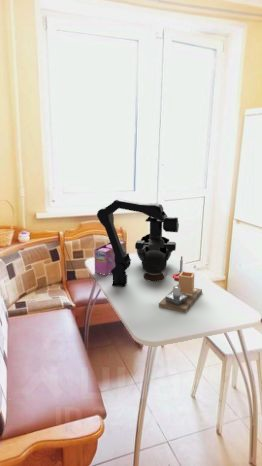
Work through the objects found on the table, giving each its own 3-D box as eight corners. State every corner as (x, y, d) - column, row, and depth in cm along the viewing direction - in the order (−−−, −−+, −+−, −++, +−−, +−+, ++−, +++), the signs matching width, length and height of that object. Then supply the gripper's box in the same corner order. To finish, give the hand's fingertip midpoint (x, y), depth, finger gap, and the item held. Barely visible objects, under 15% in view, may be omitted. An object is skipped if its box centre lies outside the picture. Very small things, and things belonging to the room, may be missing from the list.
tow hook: (172, 274, 180) (172, 280, 171) (173, 251, 177) (173, 256, 168) (188, 275, 178) (188, 281, 169) (189, 252, 176) (190, 257, 167)
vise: (165, 301, 143) (166, 287, 142) (178, 294, 150) (178, 281, 149) (178, 306, 139) (179, 292, 138) (190, 298, 146) (191, 285, 145)
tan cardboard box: (178, 292, 153) (178, 275, 151) (181, 287, 158) (181, 271, 156) (191, 293, 151) (192, 277, 149) (193, 288, 156) (194, 272, 154)
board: (185, 312, 137) (185, 309, 136) (158, 306, 142) (158, 302, 142) (201, 292, 156) (202, 288, 156) (177, 287, 162) (177, 284, 162)
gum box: (116, 260, 201) (116, 239, 198) (128, 262, 197) (127, 240, 194) (94, 273, 180) (93, 249, 177) (106, 276, 177) (106, 251, 174)
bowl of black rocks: (132, 261, 199) (132, 231, 194) (163, 258, 205) (163, 229, 200) (143, 273, 180) (143, 240, 176) (176, 269, 186) (178, 237, 181)
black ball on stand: (169, 281, 170) (170, 253, 166) (144, 283, 167) (145, 254, 164) (162, 272, 182) (162, 245, 179) (138, 273, 180) (139, 247, 176)
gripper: (133, 234, 148) (133, 267, 152) (175, 236, 145) (174, 269, 149) (137, 228, 159) (137, 259, 163) (176, 230, 156) (175, 261, 159)
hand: (155, 262), depth 158 cm, fingers open, 9 cm apart
